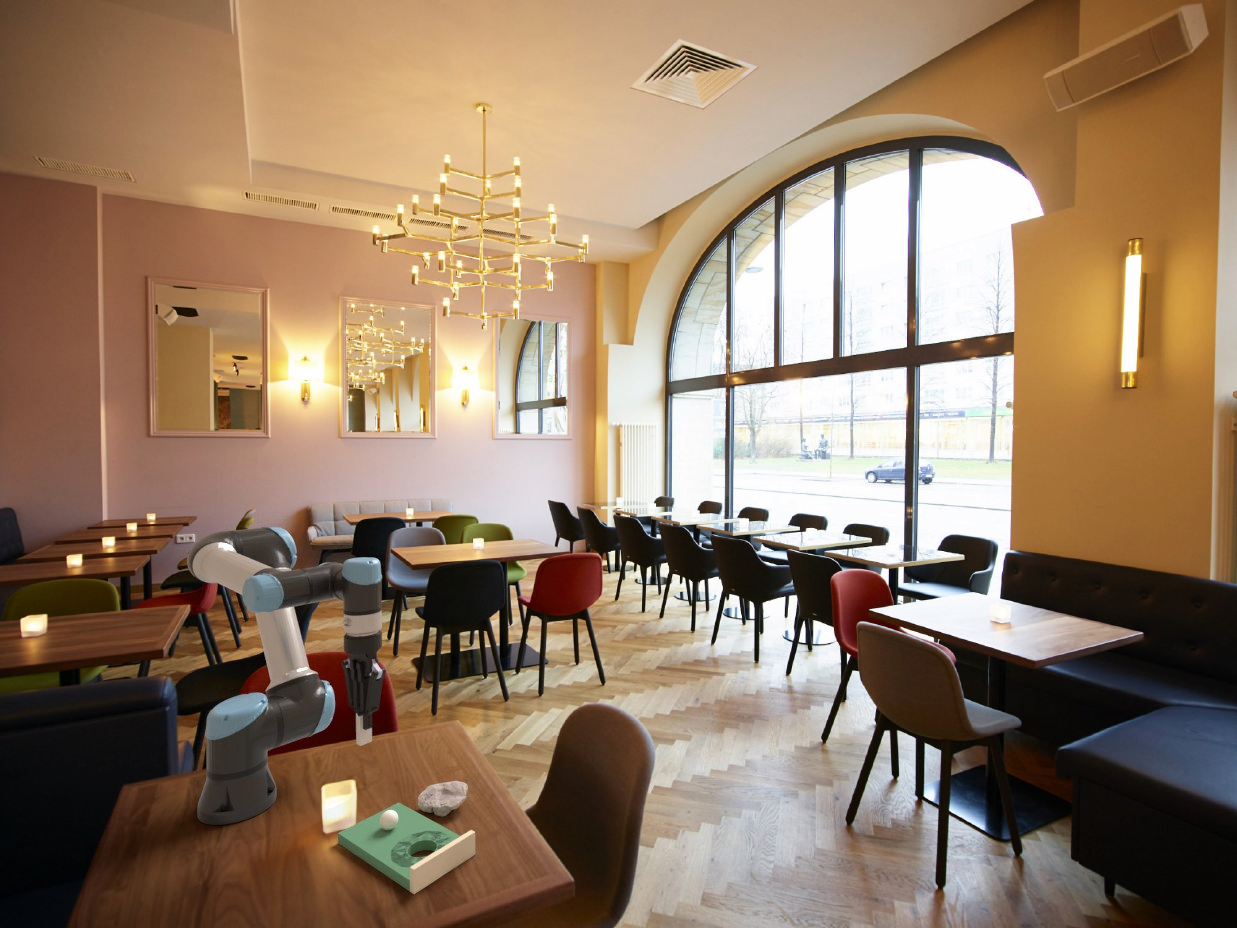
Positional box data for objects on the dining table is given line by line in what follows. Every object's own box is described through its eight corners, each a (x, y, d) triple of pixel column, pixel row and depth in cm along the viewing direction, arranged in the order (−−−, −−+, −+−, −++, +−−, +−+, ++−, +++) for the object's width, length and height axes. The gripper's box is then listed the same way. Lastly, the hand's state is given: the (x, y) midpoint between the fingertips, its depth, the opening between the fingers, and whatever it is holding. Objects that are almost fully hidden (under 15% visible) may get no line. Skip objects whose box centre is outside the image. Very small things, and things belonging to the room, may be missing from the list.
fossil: (460, 807, 134) (418, 788, 135) (450, 833, 135) (408, 813, 136) (474, 783, 143) (435, 765, 144) (465, 807, 144) (425, 789, 145)
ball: (376, 829, 128) (375, 812, 128) (391, 821, 131) (391, 804, 131) (386, 836, 126) (386, 818, 126) (402, 827, 129) (402, 809, 129)
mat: (338, 842, 127) (337, 821, 127) (398, 811, 138) (398, 791, 138) (414, 894, 112) (413, 869, 112) (475, 854, 123) (475, 831, 123)
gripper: (329, 630, 134) (330, 741, 134) (363, 640, 126) (365, 757, 126) (362, 623, 140) (363, 728, 140) (396, 632, 132) (397, 744, 133)
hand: (364, 742), depth 133 cm, fingers closed
